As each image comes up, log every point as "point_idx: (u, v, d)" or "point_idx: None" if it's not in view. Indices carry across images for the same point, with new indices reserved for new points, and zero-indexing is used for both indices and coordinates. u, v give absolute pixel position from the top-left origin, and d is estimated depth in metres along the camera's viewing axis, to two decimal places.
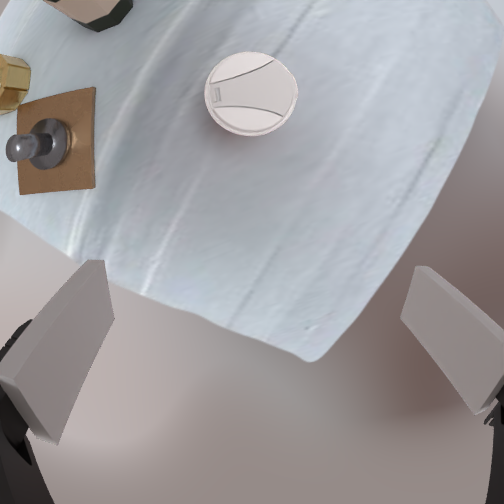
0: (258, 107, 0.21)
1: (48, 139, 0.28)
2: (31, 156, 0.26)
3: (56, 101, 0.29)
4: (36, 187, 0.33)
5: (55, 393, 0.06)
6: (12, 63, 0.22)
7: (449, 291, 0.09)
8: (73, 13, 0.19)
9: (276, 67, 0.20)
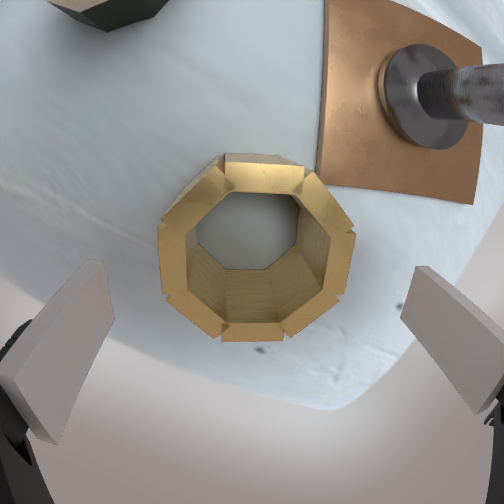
0: None
1: (440, 70, 0.12)
2: None
3: (344, 60, 0.14)
4: (474, 157, 0.17)
5: (55, 393, 0.06)
6: (211, 168, 0.12)
7: (449, 291, 0.09)
8: None
9: None
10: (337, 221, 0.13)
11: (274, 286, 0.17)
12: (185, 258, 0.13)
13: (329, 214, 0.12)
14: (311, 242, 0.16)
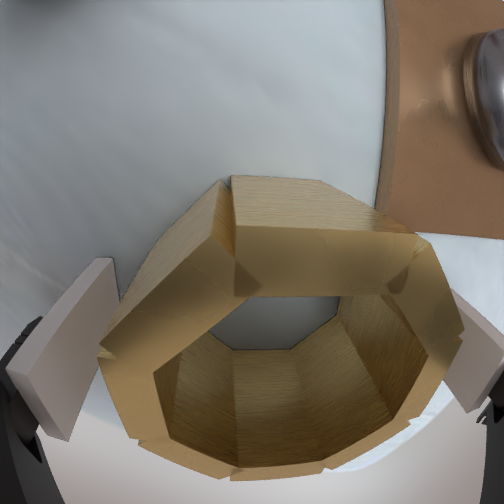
0: None
1: None
2: None
3: (420, 34, 0.07)
4: None
5: (66, 389, 0.06)
6: (201, 224, 0.06)
7: None
8: None
9: None
10: (444, 329, 0.06)
11: (308, 387, 0.10)
12: (160, 402, 0.06)
13: (437, 320, 0.05)
14: (374, 333, 0.09)
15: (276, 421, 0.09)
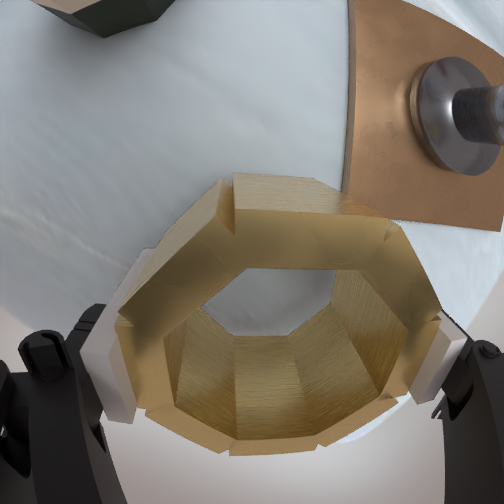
0: None
1: (476, 87, 0.10)
2: None
3: (373, 73, 0.12)
4: (503, 180, 0.15)
5: None
6: (207, 211, 0.07)
7: None
8: None
9: None
10: (422, 306, 0.07)
11: (302, 369, 0.12)
12: (167, 369, 0.07)
13: (413, 297, 0.07)
14: (362, 316, 0.10)
15: (273, 399, 0.10)
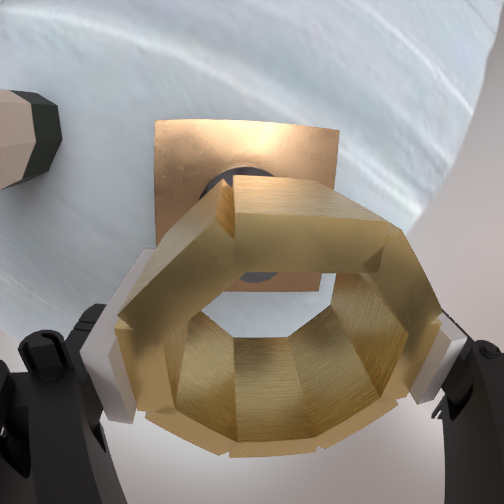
0: None
1: None
2: None
3: (167, 198, 0.22)
4: None
5: None
6: (207, 214, 0.07)
7: None
8: (2, 144, 0.12)
9: None
10: (422, 309, 0.07)
11: (303, 371, 0.11)
12: (167, 372, 0.07)
13: (414, 300, 0.07)
14: (363, 318, 0.10)
15: (273, 401, 0.10)
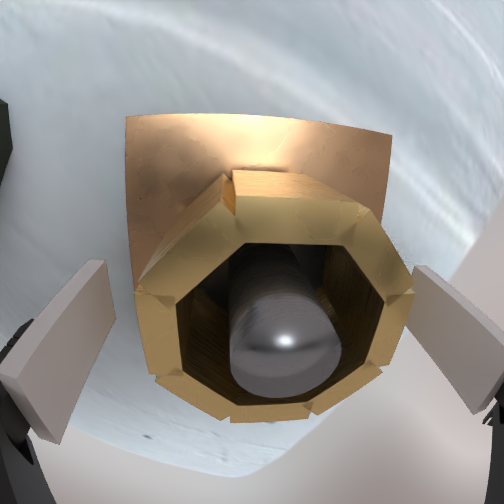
0: None
1: None
2: None
3: (145, 231, 0.15)
4: None
5: (57, 392, 0.06)
6: (212, 199, 0.08)
7: (447, 291, 0.09)
8: None
9: None
10: (395, 279, 0.08)
11: None
12: (177, 334, 0.08)
13: (386, 271, 0.08)
14: (348, 294, 0.12)
15: None
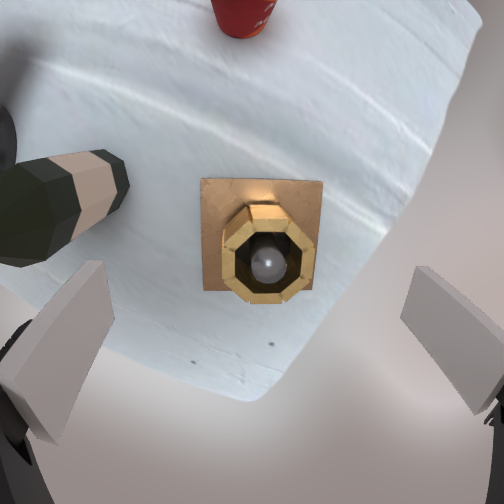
0: None
1: (258, 233, 0.32)
2: (280, 249, 0.29)
3: (210, 230, 0.34)
4: None
5: (55, 393, 0.06)
6: (245, 219, 0.28)
7: (449, 291, 0.09)
8: (101, 198, 0.25)
9: None
10: (305, 243, 0.27)
11: None
12: (234, 261, 0.28)
13: (301, 240, 0.27)
14: (296, 252, 0.31)
15: (265, 284, 0.31)
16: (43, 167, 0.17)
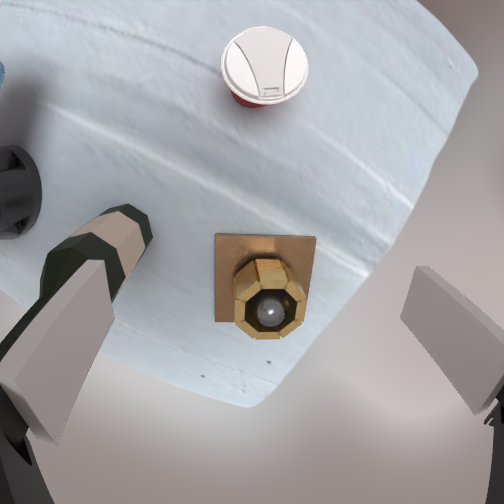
0: (284, 56, 0.20)
1: None
2: (279, 298, 0.37)
3: (221, 276, 0.42)
4: None
5: (55, 393, 0.06)
6: (253, 277, 0.35)
7: (449, 291, 0.09)
8: (136, 259, 0.32)
9: (242, 40, 0.19)
10: (299, 296, 0.35)
11: None
12: (244, 309, 0.35)
13: (296, 294, 0.35)
14: (291, 299, 0.38)
15: None
16: (93, 247, 0.24)
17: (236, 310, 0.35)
